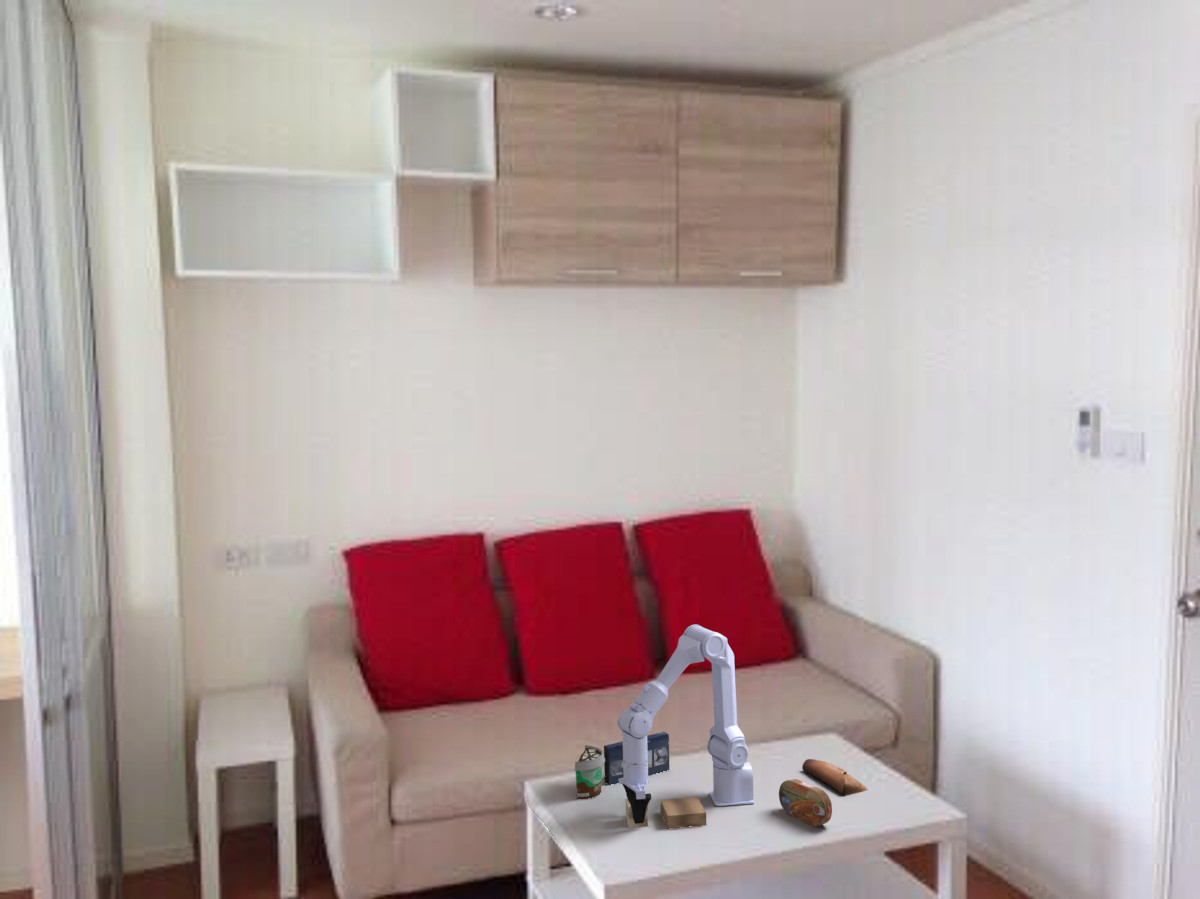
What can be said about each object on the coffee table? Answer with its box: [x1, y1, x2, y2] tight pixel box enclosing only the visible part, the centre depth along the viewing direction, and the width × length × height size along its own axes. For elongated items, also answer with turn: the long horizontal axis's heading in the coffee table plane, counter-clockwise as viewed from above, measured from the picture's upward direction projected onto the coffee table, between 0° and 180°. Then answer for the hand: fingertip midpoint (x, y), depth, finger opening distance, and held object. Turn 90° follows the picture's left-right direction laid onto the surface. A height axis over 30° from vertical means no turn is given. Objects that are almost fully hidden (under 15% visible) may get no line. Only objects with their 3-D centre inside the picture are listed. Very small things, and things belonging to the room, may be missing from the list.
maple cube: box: [625, 798, 649, 828], centre depth 258 cm, size 4×4×5 cm
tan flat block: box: [660, 796, 707, 830], centre depth 260 cm, size 9×9×4 cm
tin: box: [778, 778, 833, 827], centre depth 258 cm, size 15×3×8 cm, turn 35°
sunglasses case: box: [802, 758, 869, 797], centre depth 280 cm, size 18×7×7 cm
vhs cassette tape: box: [603, 731, 670, 786], centre depth 285 cm, size 18×3×10 cm, turn 118°
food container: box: [574, 744, 605, 800], centre depth 276 cm, size 12×6×10 cm, turn 168°
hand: (636, 816), depth 258 cm, fingers open, 6 cm apart
